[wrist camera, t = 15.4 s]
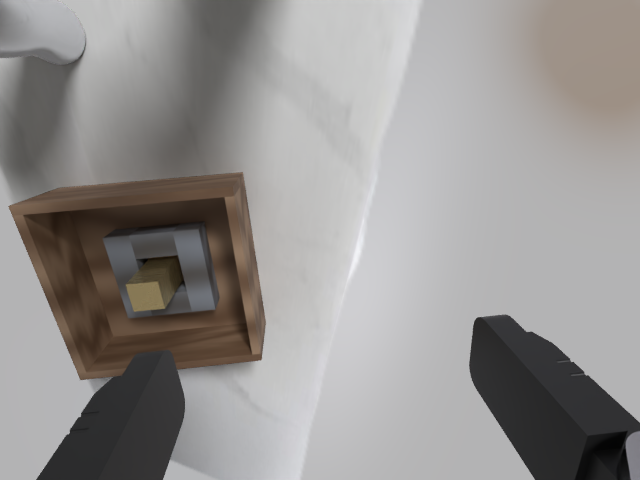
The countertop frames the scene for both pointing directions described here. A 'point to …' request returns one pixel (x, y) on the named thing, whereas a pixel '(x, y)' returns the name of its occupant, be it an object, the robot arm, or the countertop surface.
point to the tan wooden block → (155, 283)
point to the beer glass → (40, 31)
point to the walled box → (131, 254)
